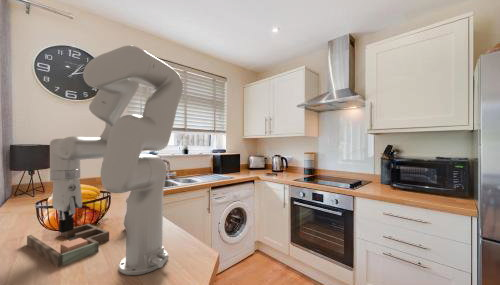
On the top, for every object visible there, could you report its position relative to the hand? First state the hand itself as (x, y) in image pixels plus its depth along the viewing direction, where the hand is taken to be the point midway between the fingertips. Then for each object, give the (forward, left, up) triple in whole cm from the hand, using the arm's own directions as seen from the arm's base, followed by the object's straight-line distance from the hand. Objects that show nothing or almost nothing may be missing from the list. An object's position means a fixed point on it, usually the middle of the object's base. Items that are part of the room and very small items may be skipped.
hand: (66, 230), depth 67 cm
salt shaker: (-1, -21, -6) cm, 22 cm away
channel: (+3, -3, -6) cm, 7 cm away
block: (-6, 0, -6) cm, 9 cm away
